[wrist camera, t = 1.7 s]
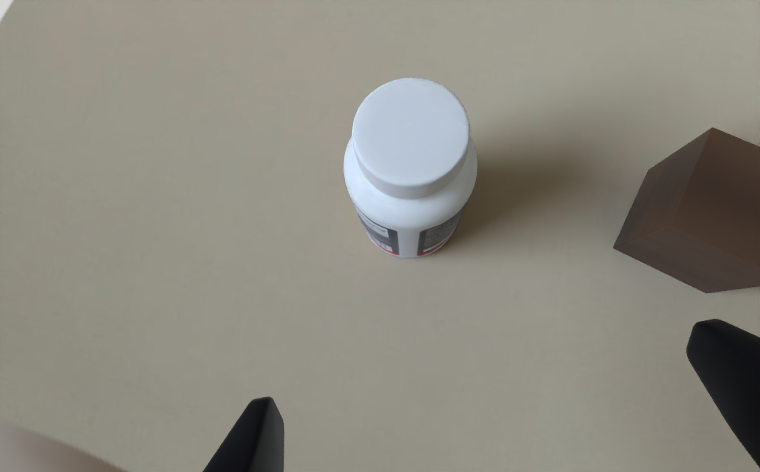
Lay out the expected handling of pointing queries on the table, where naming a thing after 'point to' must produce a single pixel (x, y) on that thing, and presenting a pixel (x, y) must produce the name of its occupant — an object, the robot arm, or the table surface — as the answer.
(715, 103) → the table surface
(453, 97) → the pill bottle
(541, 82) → the table surface
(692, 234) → the walnut block
